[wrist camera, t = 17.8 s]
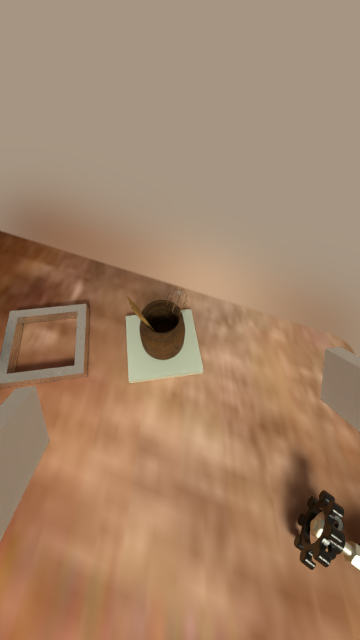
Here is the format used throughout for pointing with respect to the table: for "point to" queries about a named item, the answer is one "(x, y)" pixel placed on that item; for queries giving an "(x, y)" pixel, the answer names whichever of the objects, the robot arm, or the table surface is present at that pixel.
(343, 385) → the robot arm
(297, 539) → the valve
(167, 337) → the utensil holder
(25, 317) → the grey square frame
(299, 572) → the table surface
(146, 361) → the green tile
